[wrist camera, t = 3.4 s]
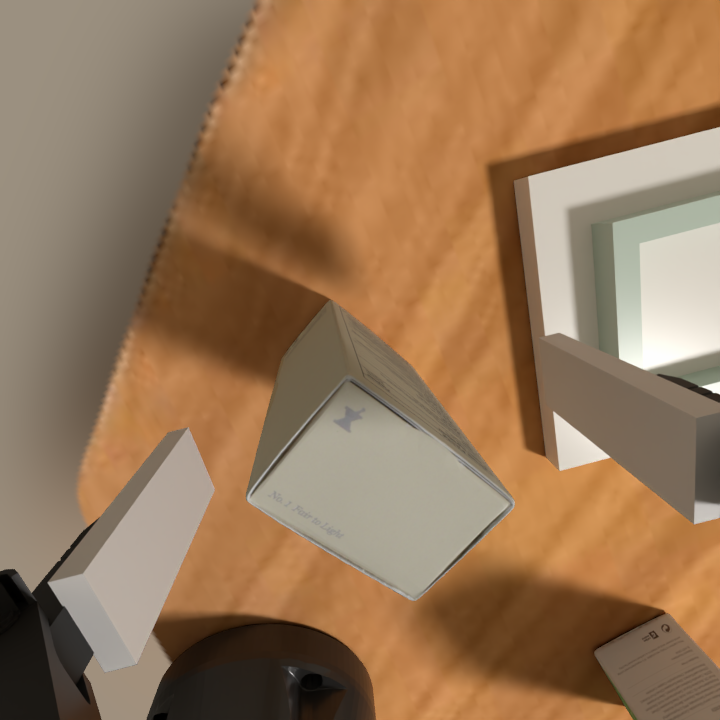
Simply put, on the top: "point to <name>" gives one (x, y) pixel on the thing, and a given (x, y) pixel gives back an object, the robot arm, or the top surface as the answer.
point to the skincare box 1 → (370, 460)
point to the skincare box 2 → (662, 673)
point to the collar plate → (626, 266)
